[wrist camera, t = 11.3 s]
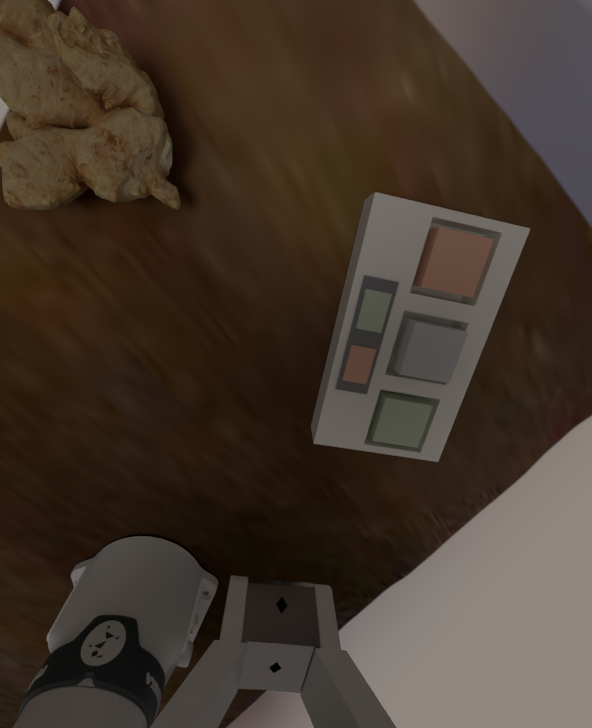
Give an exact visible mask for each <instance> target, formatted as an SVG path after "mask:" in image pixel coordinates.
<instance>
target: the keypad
mask: <svg viewBox="0 0 592 728" xmlns="http://www.w3.org/2000/svg"><path fill="white" fill-rule="evenodd" d="M437 227H442V228H446V229H451V230H455V231H460V232H464V233H468V234H473V235H477V236H481V237H486V238H490V239H494V241H493V244H492V246H491V249H490V252H489V255H488V257H487V260H486V263H485V266H484V268H483V271H482V274H481V277H480V279H479V282H478V285H477V287H476V290H475V293H474V296H473V298H472V297H467V296H462V295H457V294H452V293H447V292H443V291H438V290H433V289H428V288H423V287H419V286H414V285H412V284H413V281H414V277H415V274H416V271H417V267H418V264H419V261H420V257H421V254H422V251H423V248H424V244H425V241H426V238H427V234H428V231H429V229H432V228H437ZM529 231H530V228H526V227H521V226H517V225H513V224H509V223H505V222H500V221H496V220H492V219H488V218H483V217H479V216H475V215H471V214H466V213H462V212H458V211H454V210H449V209H445V208H441V207H437V206H432V205H428V204H424V203H420V202H416V201H411V200H407V199H403V198H399V197H394V196H390V195H386V194H382V193H377V192H375V193H373V194H372V195H371V196H369V197H368V198H366V199H365V200H364V204H363V209H362V213H361V217H360V221H359V225H358V230H357V234H356V238H355V242H354V246H353V251H352V255H351V259H350V263H349V268H348V272H347V276H346V280H345V284H344V289H343V293H342V297H341V301H340V305H339V310H338V314H337V318H336V322H335V326H334V331H333V335H332V339H331V343H330V348H329V352H328V356H327V360H326V364H325V369H324V373H323V377H322V381H321V385H320V390H319V394H318V398H317V402H316V407H315V411H314V415H313V419H312V423H311V431H312V437H313V443H314V444H321V445H327V446H334V447H341V448H348V449H354V450H361V451H368V452H374V453H381V454H388V455H395V456H401V457H408V458H415V459H422V460H428V461H435V462H438V461H439V459H440V456H441V454H442V451H443V448H444V446H445V443H446V441H447V438H448V436H449V433H450V431H451V428H452V426H453V423H454V421H455V418H456V416H457V413H458V411H459V408H460V405H461V403H462V400H463V398H464V395H465V393H466V390H467V388H468V385H469V383H470V380H471V378H472V375H473V373H474V370H475V368H476V365H477V362H478V360H479V357H480V355H481V352H482V350H483V347H484V345H485V342H486V340H487V337H488V335H489V332H490V330H491V327H492V325H493V322H494V319H495V317H496V314H497V312H498V309H499V307H500V304H501V302H502V299H503V297H504V294H505V292H506V289H507V287H508V284H509V281H510V279H511V276H512V274H513V271H514V269H515V266H516V264H517V261H518V259H519V256H520V254H521V251H522V249H523V246H524V244H525V241H526V238H527V236H528V233H529ZM407 318H409V319H414V320H419V321H424V322H429V323H434V324H439V325H445V326H450V327H455V328H458V329H461V330H463V331H466V332H468V335H467V337H466V340H465V343H464V345H463V348H462V351H461V353H460V356H459V359H458V361H457V364H456V367H455V369H454V372H453V375H452V377H451V380H450V383H445V382H439V381H434V380H428V379H422V378H416V377H411V376H405V375H399V374H398V373H397V372H396V371H395V370H394V369H393V368H392V366H393V363H394V360H395V357H396V353H397V350H398V347H399V344H400V340H401V337H402V334H403V331H404V327H405V324H406V321H407ZM380 390H383V391H389V392H395V393H401V394H406V395H412V396H418V397H424V398H425V399H426V400H428V401H429V402H430V403H431V404H432V405H433V407H432V410H431V413H430V416H429V418H428V421H427V424H426V426H425V429H424V432H423V435H422V437H421V440H420V443H419V446H418V448H416V447H409V446H402V445H396V444H389V443H383V442H376V441H373V440H372V438H371V436H370V434H369V432H368V429H369V426H370V423H371V419H372V416H373V413H374V409H375V406H376V403H377V399H378V396H379V393H380Z"/></svg>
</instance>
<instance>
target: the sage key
mask: <svg viewBox="0 0 592 728" xmlns="http://www.w3.org/2000/svg"><path fill="white" fill-rule="evenodd" d="M432 407H433V405H432V404H431V403H430V402H429V401H428V400H426V399H425V398H424V397H418V396H412V395H406V394H401V393H395V392H389V391H383V390H380V393H379V396H378V399H377V403H376V406H375V409H374V413H373V416H372V419H371V423H370V426H369V429H368V432H369V434H370V436H371V438H372V440H373V441H376V442H383V443H389V444H396V445H402V446H409V447H416V448H418V446H419V443H420V440H421V437H422V435H423V432H424V429H425V426H426V424H427V421H428V418H429V416H430V413H431V410H432Z"/></svg>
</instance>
